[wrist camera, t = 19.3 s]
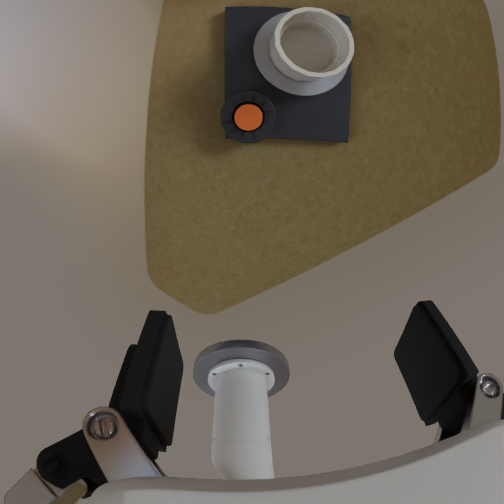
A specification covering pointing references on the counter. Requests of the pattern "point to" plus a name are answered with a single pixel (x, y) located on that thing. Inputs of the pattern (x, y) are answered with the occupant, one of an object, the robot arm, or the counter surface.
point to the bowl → (311, 44)
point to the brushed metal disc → (277, 76)
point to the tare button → (248, 117)
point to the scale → (276, 89)
